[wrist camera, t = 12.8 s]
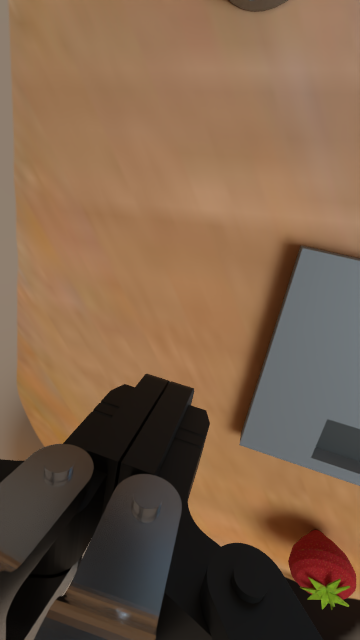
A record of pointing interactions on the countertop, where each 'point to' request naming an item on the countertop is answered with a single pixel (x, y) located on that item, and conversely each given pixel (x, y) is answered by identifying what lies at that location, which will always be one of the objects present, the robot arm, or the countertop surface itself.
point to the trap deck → (313, 371)
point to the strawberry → (322, 569)
